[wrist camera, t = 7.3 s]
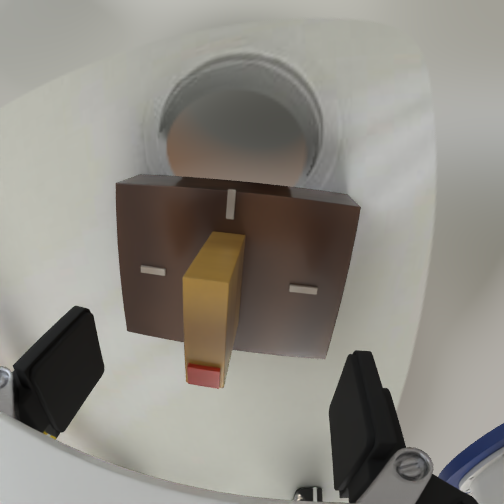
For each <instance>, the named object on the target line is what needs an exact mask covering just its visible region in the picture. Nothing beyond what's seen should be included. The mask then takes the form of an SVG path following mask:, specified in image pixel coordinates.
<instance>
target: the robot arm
mask: <svg viewBox="0 0 504 504" xmlns="http://www.w3.org/2000/svg"><path fill="white" fill-rule="evenodd" d="M13 367H14V371H13V372H11V371H10V370H9V369H8V368H6V367H3V366H0V504H504V447H502V448H500V449H499V450H497V451H496V452H494V453H493V454H491V455H490V456H488V457H487V458H485V459H484V460H482V461H481V462H480V463H478V464H477V465H476V466H475V467H473V468H472V469H471V470H470V471H469V472H468V473H467V474H466V475H465V476H464V477H463V478H462V479H461V481H460V482H459V489H460V490H459V489H457V488H456V487H454V486H452V485H450V484H449V483H447V482H445V481H444V480H442V479H440V478H439V477H437V476H435V475H433V474H432V472H433V463H432V460H431V458H430V457H429V456H428V455H427V453H425V452H424V451H422V450H420V449H417V448H411V447H407V448H406V446H405V442H404V438H403V435H402V431H401V427H400V424H399V420H398V417H397V413H396V410H395V407H394V403H393V400H392V397H391V394H390V391H389V390H388V389H387V388H382V384H381V381H380V378H379V374H378V371H377V368H376V365H375V361H374V358H373V355H372V353H371V352H370V351H354V353H353V354H349V355H348V357H347V360H346V363H345V365H344V368H343V371H342V374H341V377H340V380H339V383H338V385H337V388H336V391H335V394H334V396H333V399H332V402H331V404H330V408H329V421H330V433H331V446H332V460H333V475H334V488H335V490H339V494H340V498H349V503H337V502H313V501H293V500H280V499H269V498H259V497H250V496H243V495H236V494H229V493H223V492H217V491H212V490H206V489H202V488H197V487H192V486H188V485H183V484H179V483H175V482H171V481H167V480H163V479H160V478H156V477H153V476H149V475H146V474H142V473H139V472H136V471H133V470H130V469H127V468H124V467H121V466H118V465H115V464H112V463H110V462H107V461H104V460H102V459H99V458H97V457H94V456H91V455H89V454H87V453H84V452H82V451H79V450H77V449H75V448H73V447H70V446H68V445H66V444H64V443H62V442H59V441H57V440H55V439H53V438H51V437H49V436H47V435H45V434H43V432H44V431H45V432H46V433H48V434H50V435H52V436H54V437H56V438H57V437H58V435H59V434H60V432H64V431H65V430H66V428H67V427H68V425H69V424H70V422H71V421H72V419H73V418H74V416H75V415H76V413H77V412H78V410H79V409H80V407H81V406H82V404H83V403H84V401H85V400H86V398H87V397H88V395H89V394H90V392H91V391H92V389H93V388H94V387H95V385H96V384H97V382H98V381H99V379H100V378H101V376H102V375H103V373H104V363H103V359H102V355H101V350H100V346H99V341H98V336H97V331H96V326H95V321H94V316H93V314H91V312H90V310H89V309H87V308H83V307H79V306H74V307H73V308H72V309H71V310H69V311H68V312H67V313H66V314H65V315H64V316H63V317H62V318H61V319H60V320H59V321H58V322H57V323H56V324H54V325H53V326H52V327H51V328H50V329H49V330H48V331H47V332H46V333H45V334H44V335H43V336H42V337H41V338H40V339H39V340H38V341H37V342H36V343H35V344H34V345H33V346H32V347H31V348H30V349H29V350H28V351H27V352H26V353H25V354H24V355H23V356H22V357H21V358H20V359H19V360H18V361H17V362H16V363H15V364H14V365H13ZM466 492H472V495H473V497H472V496H470V495H468V494H466Z"/></svg>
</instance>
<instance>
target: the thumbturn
mask: <svg viewBox="0 0 504 504" xmlns="http://www.w3.org/2000/svg"><path fill="white" fill-rule="evenodd" d="M245 237H246V236H245V235H241V234H232V233H223V232H212V233H211V235H210V236H209V238H208V239H207V241H206V242H205V244H204V245H203V247H202V248H201V250H200V251H199V253H198V254H197V256H196V257H195V259H194V260H193V262H192V264H191V265H190V267H189V268H188V270H187V271H186V273H185V274H184V276H183V323H184V350H185V370H186V382H188V384H193V385H199V386H204V387H211V388H217V389H219V388H224V384H225V380H226V375H227V371H228V366H229V362H230V358H231V353H232V349H233V344H234V340H235V336H236V331H237V327H238V321H239V309H240V297H241V285H242V273H243V261H244V249H245Z"/></svg>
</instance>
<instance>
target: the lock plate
mask: <svg viewBox="0 0 504 504" xmlns="http://www.w3.org/2000/svg"><path fill="white" fill-rule="evenodd" d="M360 210H361V207H360V206H359V205H358V204H357V203H356V202H355V201H354V200H353V199H352V198H351V197H350V196H349V195H347V194H341V193H334V192H327V191H319V190H312V189H304V188H296V187H288V186H280V185H270V184H262V183H252V182H242V181H241V182H240V181H231V180H219V179H206V178H193V177H179V176H162V175H142V174H140V175H137V176H134V177H131V178H128V179H126V180H123V181H120V182H118V183H116V216H117V237H118V252H119V265H120V276H121V286H122V295H123V303H124V311H125V318H126V326H127V331H129V332H134V333H139V334H143V335H148V336H153V337H158V338H164V339H169V340H174V341H180V342H184V323H183V276H184V274H185V273H186V271H187V270H188V268H189V267H190V265H191V264H192V262H193V260H194V259H195V257H196V256H197V254H198V253H199V251H200V250H201V248H202V247H203V245H204V244H205V242H206V241H207V239H208V238H209V236H210V235H211V233H212V232H223V233H232V234H241V235H245V236H246V237H245V249H244V261H243V273H242V285H241V297H240V309H239V321H238V327H237V331H236V336H235V340H234V344H233V349H232V350H238V351H246V352H254V353H263V354H272V355H281V356H291V357H303V358H315V359H325V358H326V355H327V351H328V348H329V344H330V341H331V337H332V334H333V330H334V326H335V323H336V319H337V315H338V311H339V307H340V303H341V299H342V295H343V291H344V287H345V282H346V278H347V274H348V269H349V265H350V260H351V256H352V251H353V246H354V241H355V236H356V231H357V226H358V220H359V215H360Z"/></svg>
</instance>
